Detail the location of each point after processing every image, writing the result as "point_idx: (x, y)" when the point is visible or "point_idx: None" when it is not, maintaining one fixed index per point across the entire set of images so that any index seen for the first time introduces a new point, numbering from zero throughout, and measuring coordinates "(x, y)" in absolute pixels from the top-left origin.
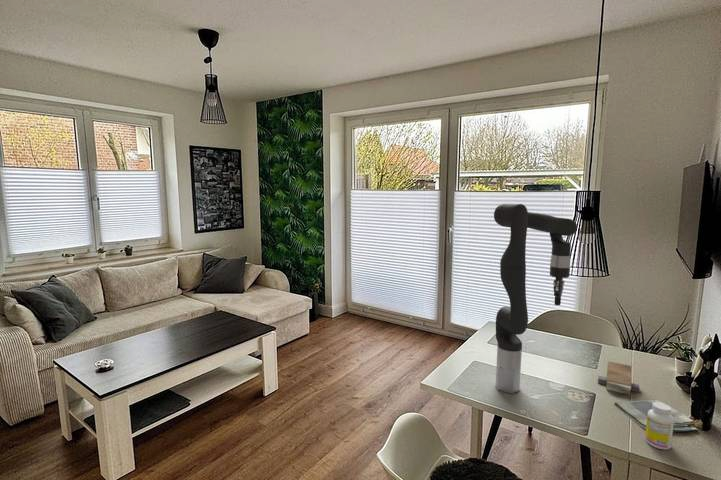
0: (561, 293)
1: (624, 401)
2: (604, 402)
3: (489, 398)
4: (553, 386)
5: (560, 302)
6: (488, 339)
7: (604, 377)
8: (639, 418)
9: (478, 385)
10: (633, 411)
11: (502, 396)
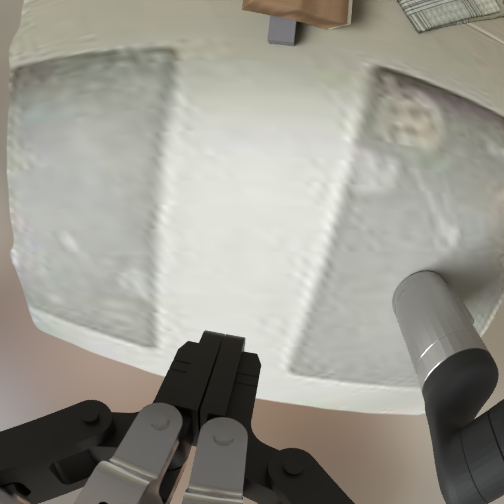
0: (161, 444)
1: (406, 6)
2: (419, 55)
3: None
4: (380, 181)
5: (217, 351)
6: (130, 344)
7: (272, 24)
8: (475, 8)
9: None
10: (452, 7)
11: None
